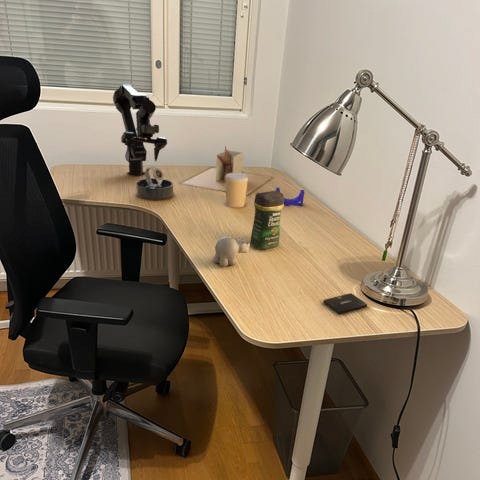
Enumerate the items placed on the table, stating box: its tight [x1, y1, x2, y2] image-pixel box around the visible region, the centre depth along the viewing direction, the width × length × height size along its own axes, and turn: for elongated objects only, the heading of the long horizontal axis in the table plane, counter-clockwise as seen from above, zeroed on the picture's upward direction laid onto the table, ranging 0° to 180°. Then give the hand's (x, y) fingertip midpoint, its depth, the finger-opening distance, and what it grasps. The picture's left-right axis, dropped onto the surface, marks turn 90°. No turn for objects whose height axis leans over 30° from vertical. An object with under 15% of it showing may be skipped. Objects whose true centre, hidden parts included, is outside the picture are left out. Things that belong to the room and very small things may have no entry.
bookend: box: [214, 146, 246, 182], centre depth 219 cm, size 9×11×17 cm
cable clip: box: [275, 187, 305, 207], centre depth 197 cm, size 12×4×6 cm, turn 84°
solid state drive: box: [323, 293, 368, 315], centre depth 127 cm, size 7×10×1 cm
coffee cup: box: [225, 173, 248, 208], centre depth 190 cm, size 9×9×12 cm
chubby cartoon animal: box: [213, 236, 250, 267], centre depth 143 cm, size 7×12×8 cm, turn 120°
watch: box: [144, 166, 164, 188], centre depth 194 cm, size 6×8×11 cm
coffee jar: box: [249, 189, 285, 250], centre depth 153 cm, size 10×8×19 cm
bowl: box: [135, 177, 174, 201], centre depth 196 cm, size 15×15×5 cm
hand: (145, 159), depth 198 cm, fingers open, 9 cm apart
